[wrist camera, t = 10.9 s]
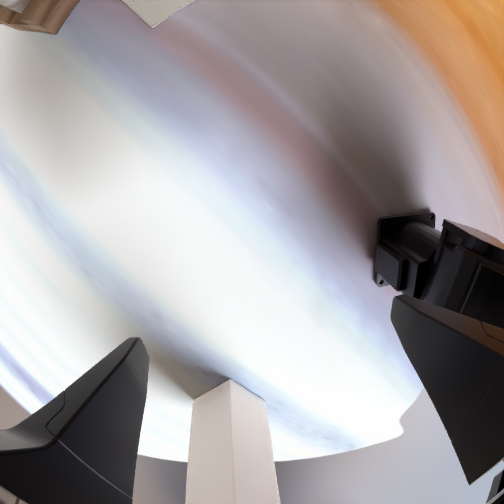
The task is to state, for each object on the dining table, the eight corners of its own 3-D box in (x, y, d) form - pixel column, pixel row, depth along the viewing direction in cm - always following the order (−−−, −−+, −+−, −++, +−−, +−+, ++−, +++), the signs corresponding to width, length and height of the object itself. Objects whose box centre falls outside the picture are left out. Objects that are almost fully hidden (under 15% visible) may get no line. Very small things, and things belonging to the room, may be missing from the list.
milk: (265, 400, 29) (294, 576, 8) (228, 419, 30) (238, 578, 9) (229, 377, 27) (241, 584, 6) (191, 399, 28) (183, 578, 7)
